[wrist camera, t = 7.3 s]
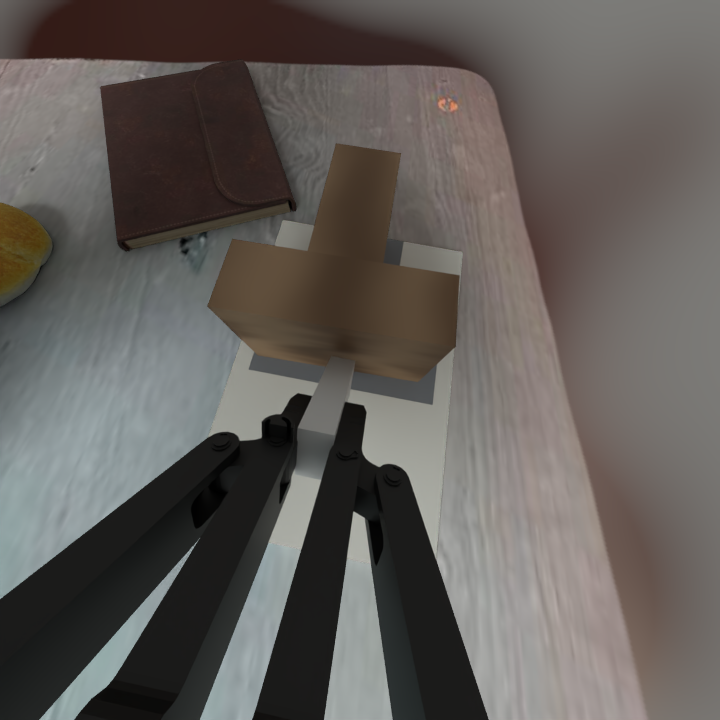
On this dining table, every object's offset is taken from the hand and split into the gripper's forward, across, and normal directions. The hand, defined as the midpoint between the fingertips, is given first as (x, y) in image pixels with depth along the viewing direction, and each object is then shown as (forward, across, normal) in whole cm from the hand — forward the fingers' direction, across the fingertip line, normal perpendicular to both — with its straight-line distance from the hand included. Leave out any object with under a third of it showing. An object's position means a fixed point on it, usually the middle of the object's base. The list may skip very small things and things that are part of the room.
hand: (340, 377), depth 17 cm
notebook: (+17, -19, +12) cm, 28 cm away
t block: (+7, -1, +3) cm, 8 cm away
